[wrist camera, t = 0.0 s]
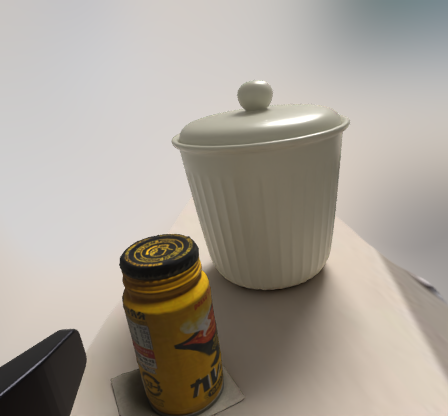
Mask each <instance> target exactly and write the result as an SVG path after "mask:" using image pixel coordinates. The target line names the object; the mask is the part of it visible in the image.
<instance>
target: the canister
mask: <svg viewBox="0 0 448 416" xmlns="http://www.w3.org/2000/svg"><path fill="white" fill-rule="evenodd" d="M272 94H273V93H272V88H271V86H270V85H269V84H268V83H267V82H265V81H261V80H253V81H249V82H246V83H244V84H243V85H242V86H241V87H240V88H239V90H238V94H237V96H238V101H239V103H240V105H241V106H242V107H243V108H244V109H239V110H234V111H228V112H223V113H219V114H215V115H211V116H207V117H204V118H201V119H198V120H196V121H193V122H191V123H189V124H188V125H186V126H185V127H184V128H183V129H182V131H181V133H180V134H178V135H176V136H175V137H173V139H172V144H173V146H174V147H175V148H177V149H179V150H180V152H181V156H182V160H183V164H184V167H185V171H186V175H187V178H188V182H189V185H190V189H191V192H192V196H193V200H194V203H195V207H196V210H197V214H198V217H199V221H200V224H201V228H202V231H203V234H204V238H205V241H206V244H207V247H208V250H209V254H210V256H211V259H212V261H213V264H214V265H215V267H216V268H217V270H218V271H219V273H220V274H221V275H222V276H224V277H225V278H226V279H227V280H229V281H231V282H232V283H234V284H238V285H239V286H244V287H246V288H253V289H255V290H257V289H262V290H268V289H270V290H274V289H283V288H286V287H291V286H294V285H299V284H300V283H303V282H306V281H307V280H308V279H311V278H313V277H314V275H316V274H318V273H319V271H320V270H321V269H322V268H323V267H324V265H325V263H326V261H327V259H328V257H329V254H330V250H331V243H332V236H333V228H334V219H335V211H336V201H337V190H338V179H339V168H340V158H341V146H342V133H343V131H344V130H346V129H347V128H348V126H349V124H350V120H349V118H347V117H345V116H342V115H339V114H338V113H337V112H336V111H334V110H333V109H331V108H329V107H325V106H320V105H310V104H288V105H272V106H269V104H270V103H271V100H272Z"/></svg>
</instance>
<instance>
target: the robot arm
mask: <svg viewBox="0 0 448 416" xmlns="http://www.w3.org/2000/svg"><path fill="white" fill-rule="evenodd" d="M86 361H87V358H86V353H85V350H84V347H83V344H82V340H81V337H80V334H79V332H78V331H77V330H75V329H64V330H59V331H57V332H55V333H54V334H52V335H51V336H49V337H47V338H46V339H44V340H43V341H41V342H39V343H38V344H36V345H35V346H33V347H32V348H30V349H28V350H27V351H25V352H24V353H22V354H21V355H19V356H17V357H16V358H14V359H12V360H11V361H9V362H8V363H6V364H5V365H3V366H1V367H0V416H70V414H71V410H72V407H73V404H74V401H75V398H76V395H77V392H78V389H79V386H80V383H81V380H82V376H83V373H84V370H85V367H86Z"/></svg>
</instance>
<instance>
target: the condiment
mask: <svg viewBox="0 0 448 416" xmlns="http://www.w3.org/2000/svg"><path fill="white" fill-rule="evenodd" d="M119 265H120V268H121V270H122V273H123V284H124V286H125V290H124V293H123V296H122V299H123V307H124V310H125V314H126V318H127V321H128V325H129V329H130V333H131V337H132V341H133V345H134V349H135V353H136V357H137V362H138V365H139V369H136V370H134V371H131V372H128V373H124V374H121V375H120V376H117V377H115V378H112V379H111V382H112V386H113V390H114V394H115V398H116V401H117V406H118V409H119V413H120V416H212V415H214V414H216V413H218V412H220V411H222V410H224V409H226V408H227V407H229V406H232V405H234V404H236V403H238V402H240V401H241V400H243V399H244V398H245V396H244V395H243V393H242V392H241V390H240V389H239V387H238V386H237V385H236V383H235V382H234V381H233V379H232V378H231V376H230V375H229V373H228V372H227V370H226V369H225V368H224V366H223V364H222V361H221V352H220V347H219V341H218V336H217V328H216V322H215V317H214V311H213V305H212V299H211V287H210V286H209V280H208V278H207V276H206V274H205V273H204V272H203V271H202V265H201V262H200V260H199V248H198V246H197V245H196V243H195V242H194V241H193V240H192V239H191V238H190V237H189V236H188V237H187V236H184V235H180V234H164V235H157V236H153V237H148V238H145V239H142V240H140V241H137V242H135V243H134V244H132V245H131V246H130V247H128V248H127V249H126V250H125V251H124V253H123V254H122V256H121V257H120V264H119Z"/></svg>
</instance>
